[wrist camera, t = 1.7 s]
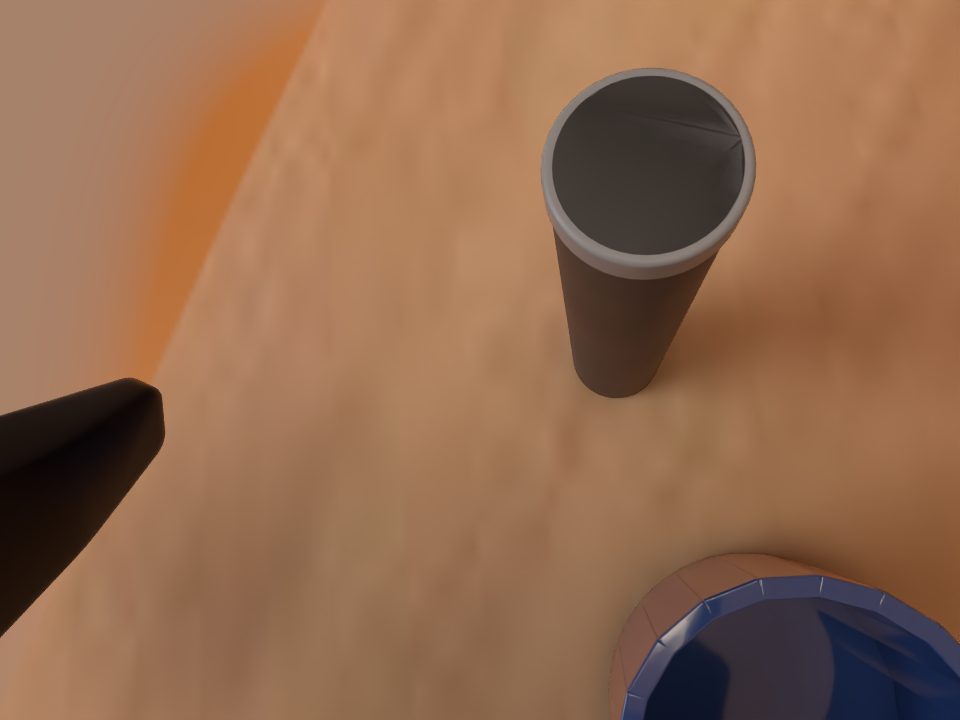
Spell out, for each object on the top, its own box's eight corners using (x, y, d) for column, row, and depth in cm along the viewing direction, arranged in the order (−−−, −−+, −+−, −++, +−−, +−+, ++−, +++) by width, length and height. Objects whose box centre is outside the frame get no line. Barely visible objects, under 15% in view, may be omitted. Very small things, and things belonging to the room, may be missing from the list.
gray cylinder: (631, 416, 20) (688, 305, 8) (555, 371, 21) (500, 202, 9) (677, 341, 21) (798, 122, 8) (600, 297, 21) (608, 31, 9)
